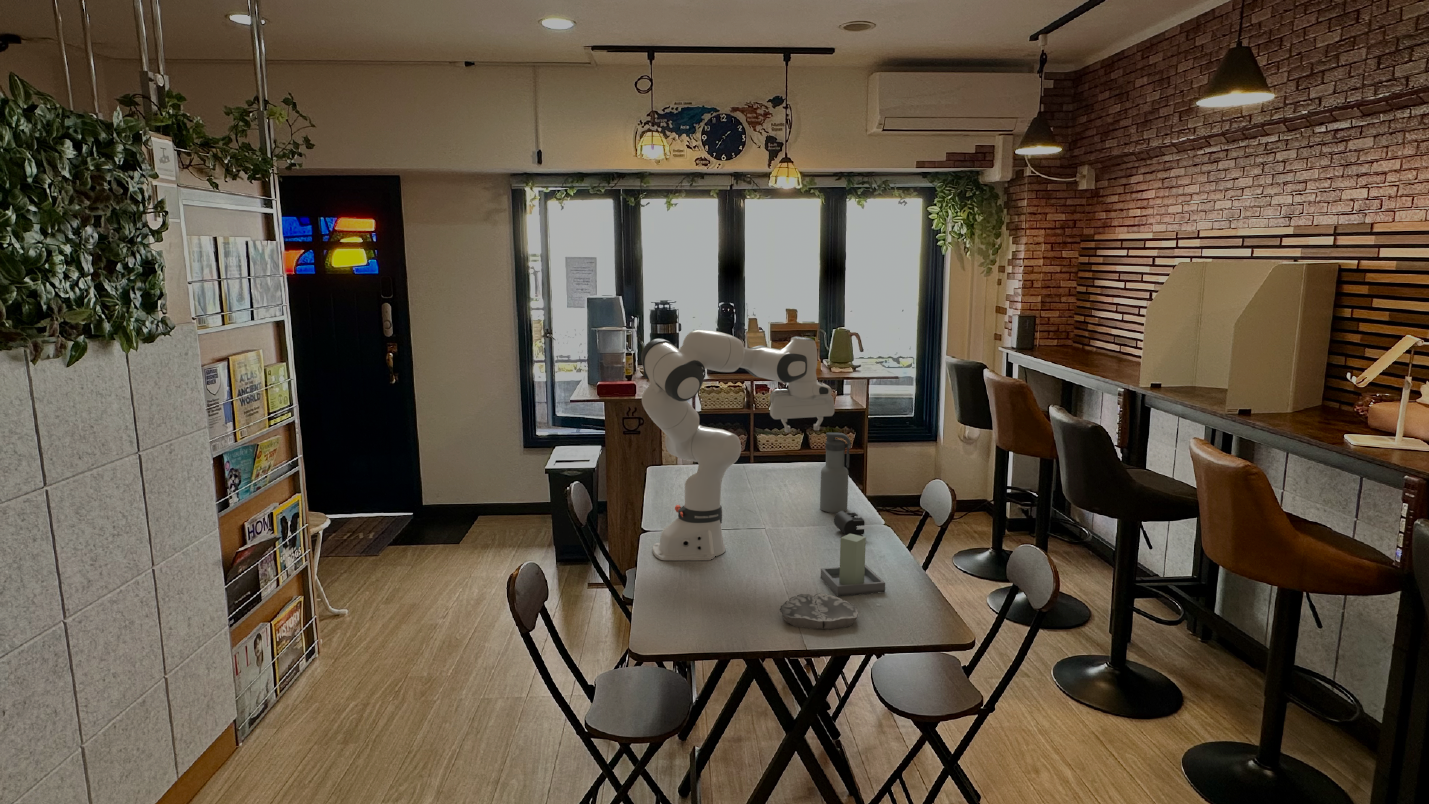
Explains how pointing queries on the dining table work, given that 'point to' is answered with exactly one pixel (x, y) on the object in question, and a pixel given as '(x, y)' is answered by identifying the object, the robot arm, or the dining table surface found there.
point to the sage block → (852, 559)
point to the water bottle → (835, 474)
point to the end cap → (849, 523)
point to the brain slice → (819, 611)
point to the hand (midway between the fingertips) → (801, 430)
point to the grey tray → (867, 587)
